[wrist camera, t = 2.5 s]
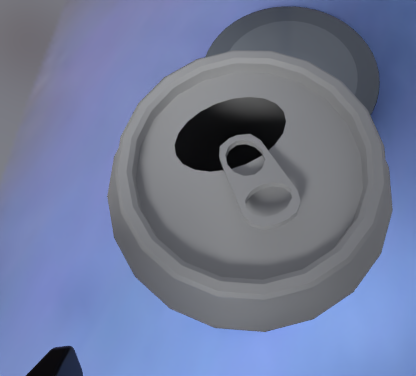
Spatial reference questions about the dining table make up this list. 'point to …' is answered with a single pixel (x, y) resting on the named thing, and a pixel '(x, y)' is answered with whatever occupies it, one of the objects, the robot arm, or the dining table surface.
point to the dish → (307, 45)
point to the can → (250, 191)
